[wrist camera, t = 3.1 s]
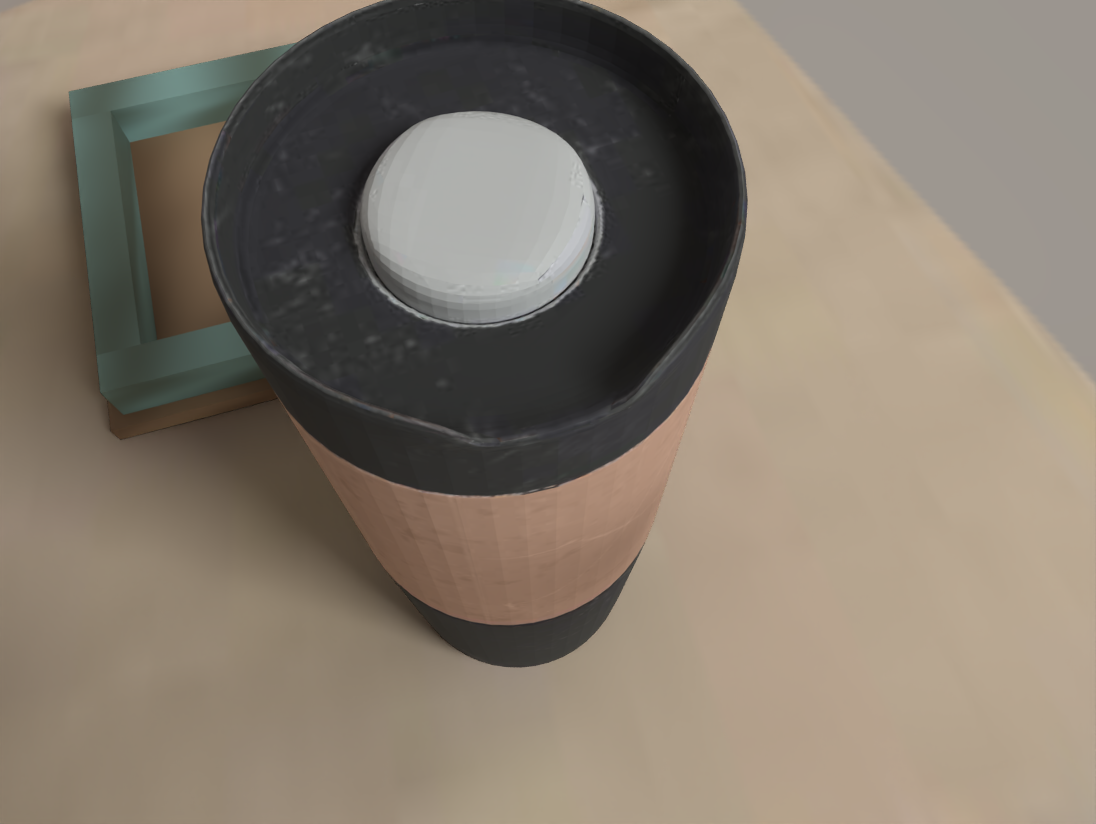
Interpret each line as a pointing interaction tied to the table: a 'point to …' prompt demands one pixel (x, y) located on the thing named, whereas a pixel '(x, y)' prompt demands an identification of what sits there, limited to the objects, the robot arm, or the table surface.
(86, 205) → the coaster dock
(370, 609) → the table surface
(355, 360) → the travel mug
